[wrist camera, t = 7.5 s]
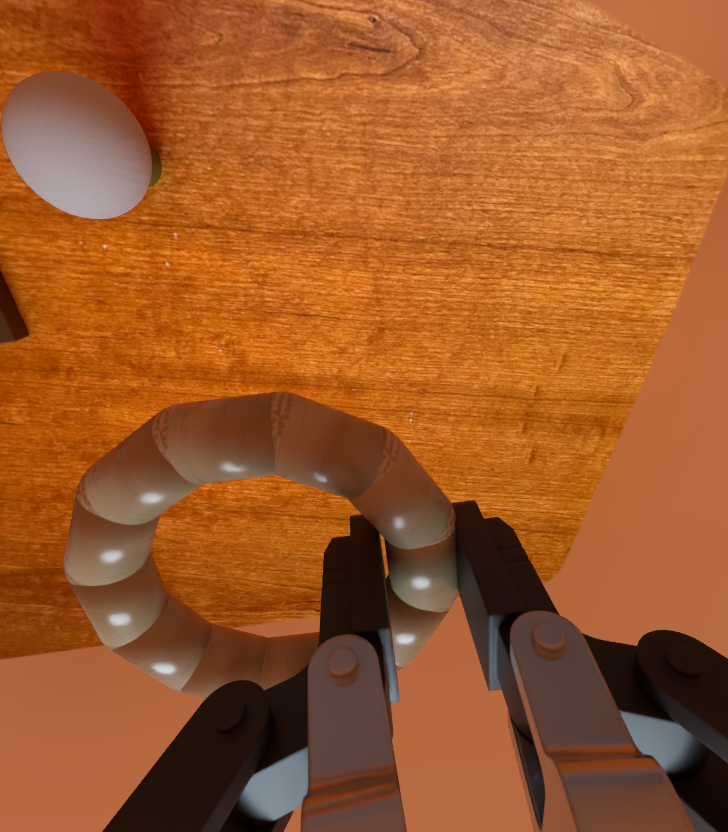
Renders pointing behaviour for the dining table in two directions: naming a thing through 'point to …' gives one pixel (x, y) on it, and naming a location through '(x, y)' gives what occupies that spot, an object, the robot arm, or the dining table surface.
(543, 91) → the dining table surface
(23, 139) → the light bulb
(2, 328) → the stand
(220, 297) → the dining table surface
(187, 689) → the beige segmented ring
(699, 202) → the dining table surface
